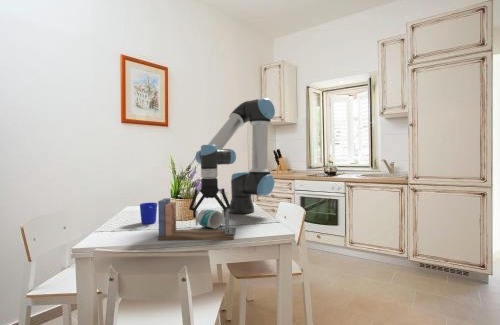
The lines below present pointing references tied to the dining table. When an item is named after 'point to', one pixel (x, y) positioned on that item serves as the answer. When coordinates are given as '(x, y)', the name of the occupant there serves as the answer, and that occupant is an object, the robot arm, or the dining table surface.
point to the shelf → (170, 233)
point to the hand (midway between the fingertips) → (210, 224)
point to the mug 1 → (148, 213)
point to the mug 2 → (210, 218)
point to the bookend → (228, 230)
